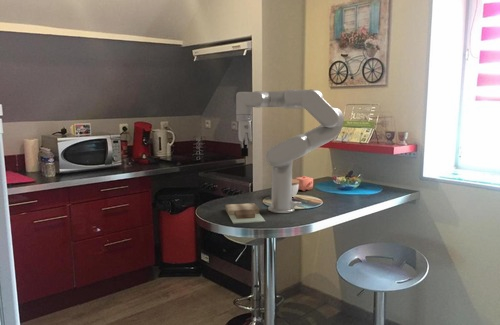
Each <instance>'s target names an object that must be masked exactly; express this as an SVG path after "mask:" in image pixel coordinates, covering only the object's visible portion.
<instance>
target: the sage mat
mask: <svg viewBox="0 0 500 325" xmlns="http://www.w3.org/2000/svg"><path fill="white" fill-rule="evenodd" d="M228 216H229V218H230V220H231V222H232V224H233V225H235V224H248V223H249V224H250V223H262V222H263V223H265V222H266V220H265V218H264V217H263V216H262V215H261V214H260V213H259V214H255V218H244V219H237V218H236V216H235V215H228Z"/></svg>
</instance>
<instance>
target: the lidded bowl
mask: <svg viewBox="0 0 500 325" xmlns="http://www.w3.org/2000/svg"><path fill="white" fill-rule="evenodd" d="M298 188H299V180H296V179H295V178H292V197H295V196H296V195H297V193H298V191H299V190H298Z"/></svg>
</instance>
